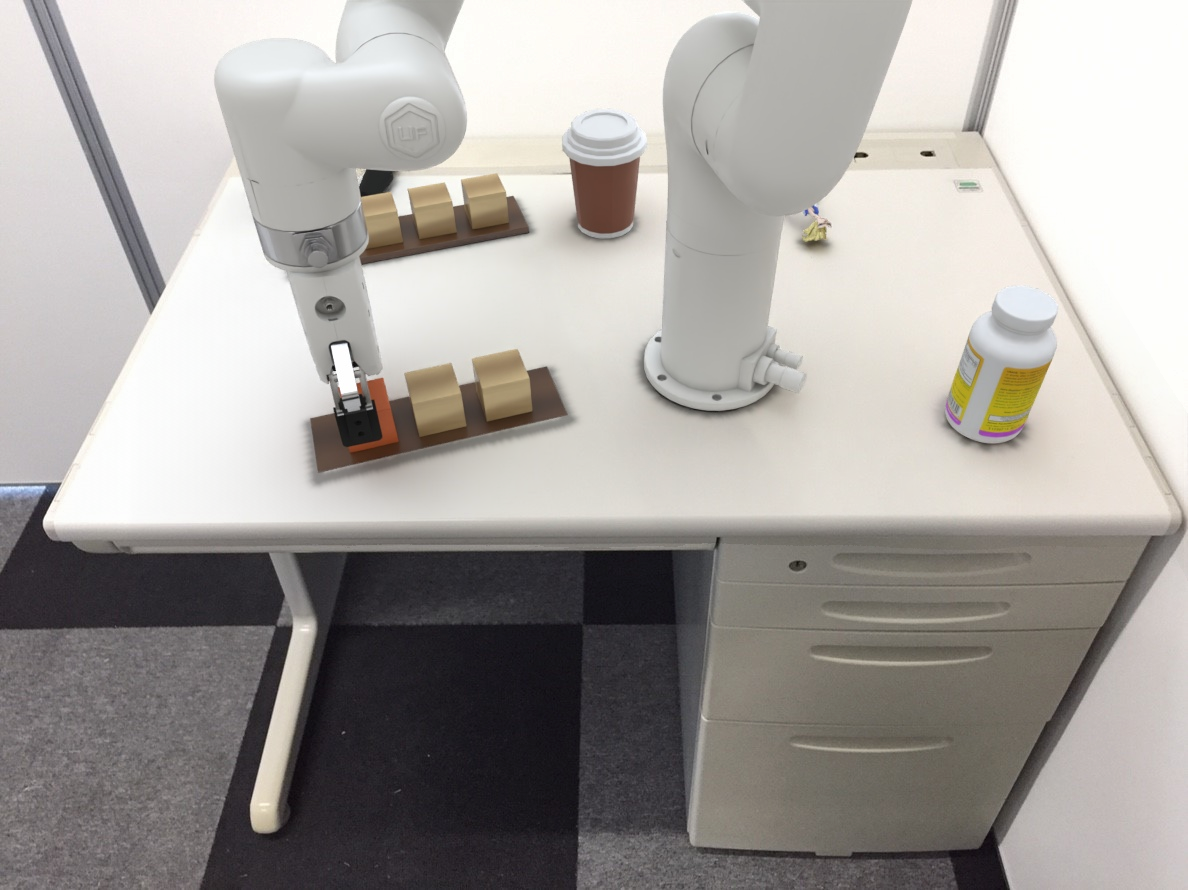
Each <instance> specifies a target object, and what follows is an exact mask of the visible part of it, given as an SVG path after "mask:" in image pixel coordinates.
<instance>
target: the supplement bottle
mask: <svg viewBox="0 0 1188 890" xmlns="http://www.w3.org/2000/svg"><path fill="white" fill-rule="evenodd" d="M1058 312H1059V305H1058V302H1057V301H1056V300H1055V298H1054V297H1053V296H1052V295H1050V294H1049V293H1047V292H1046V291H1044V290H1042V289H1039V288H1037V287H1033V286H1030V285H1029V286H1028V285H1021V284H1018V285H1009V286H1006V287H1003V288H1001V289H1000V290H999V291H998V292H997V293H996V295H995V298H994V300H993V303H992V304H991V310H989V311H987V312H985V313H983V314H982V315H980V316H979V317H978V318H976V320H975V321H974V322H973V323H972V325H971V328H970V330H969V334H968V336H967V339H966V341H965V345H964V348H963V351H962V353H961V357H960V360H959V363H958V366H957V368H956V371H955V374H954V377H953V380H952V382H951V386H950V388H949V389H950V390H949V392H948V396H947V398H946V402H945V405H944V412H945V417H946V419H947V421H948V423H949V424H950V426H951V427H952V428H953V429H954V430H955V431H956V432H957V433H959V434H960V435H962V436H964V437H966V438H968V439H970V440H972V441H975V442H980V443H983V444H1001V443H1005V442H1008V441H1010V440H1013V439H1014V438H1017V436H1018V435H1019V434H1020V433H1021V431H1022V430H1023V428H1024V427H1025V424H1026V422H1027V419H1028V417H1029V416H1030V412H1031V410H1032V408H1033V406H1034V404H1035V402H1036V399H1037V396H1038V394H1039V391H1040V389H1041V387H1042V385H1043V382H1044V380H1045V378H1046V375H1047V373H1048V370H1049V369H1050V366H1051V363H1052V361H1053V359H1054V357H1055V354H1056V352H1057V347H1058V339H1057V336H1056V333H1055V331H1054V330H1053V328H1052V326H1053V324H1054V323H1055V321H1056V318H1057V316H1058Z"/></svg>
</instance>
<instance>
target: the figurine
mask: <svg viewBox="0 0 1188 890" xmlns="http://www.w3.org/2000/svg"><path fill="white" fill-rule="evenodd" d="M801 214H803V215H804V217H807V216H808V215H810V216H811V217H812V218H816V219H815V220H814V221H813V222H812V223H810V225H809V226H808V227H806V229H803V230H802V232H803V234H802V235H801V239H802V241H803V242H805V243H808V242H811V241H814V242H818V241H819V240H824V241H825V240H827V242H828V239H827V238H828V237H827V233H828V231H827V228H832V222H831V221H829V220H828V218H825V217H822V216H820V215H819V214H820V210H819V202H818V203H817V204H815V205H813V206H812V207H810V208H808V209H807V210H804V211H802V212H801ZM804 235H806V236H804ZM810 258H811V259H812V258H813V257H810Z"/></svg>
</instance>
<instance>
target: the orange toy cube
mask: <svg viewBox="0 0 1188 890" xmlns="http://www.w3.org/2000/svg"><path fill="white" fill-rule="evenodd" d="M356 384H357V389H358V393H359V394H362V395H363V393H362V388H361V384H360V382H356ZM367 384H368V388H369V393H370V397H371V400H375V405H376V409H377V413H378V418H379V422H380V427H381V431H382V436H383V437H382V439H381V440H379V441H374V442H369V443H365V444H360V445H355V446H350V447H348V448H349V451H350V453H352V452H357V451H361V450H365V449H370V448H374V447H379V446H383V445H387V444H392V443H396V442H399V440H398V436H397V432H396V428H395V423H394V419H393V415H392V411H391V407H390V402H389V401H390V399H389V395H388V391H387V387H386V383H385V378H384V377H379V378H374V379H368V380H367ZM338 388H339V392H340V387H339V386H338ZM340 396H341V392H340ZM341 398H342V396H341Z"/></svg>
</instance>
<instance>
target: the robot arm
mask: <svg viewBox="0 0 1188 890" xmlns="http://www.w3.org/2000/svg"><path fill="white" fill-rule="evenodd" d="M741 1H742V2H743V3H744V4H745V5H746V6H747V7H748V8H749V9H750V10H751V11H752V12H754V14H756V15H757V16H758V17H757V16H755V15H753V14H749V13H746V12H740V11H723V12H722V11H721V12H718V13H714V14H711V15H708V16H706V17H704V18H702V19H701V20H699V21H697V22H696V23H694V24H693V25H692V26H690V28H688V30H686V31H685V32H684V33H683V35H682V36H681V38H680V39H679V40H678V41H677V43H676V45H675V46H674V48H673V50H672V52H671V54H670V56H669V58H668V61H667V65H666V68H665V72H664V76H663V84H662V116H663V128H664V138H665V148H666V149H665V150H666V161H667V162H666V163H667V199H666V200H667V201H666V202H667V204H666V221H665V245H664V264H663V265H664V266H663V267H664V268H663V285H662V286H663V289H662V312H661V314H662V315H661V316H662V317H661V329H659V330H658V331H656V333H655V334H654V335H653V336H652V337H651V338H650V339H649V340H648V342H647V344H646V346H645V350H644V355H643V356H644V357H643V368H644V369H643V371H644V373H645V376H646V378H647V380H648V381H649V383H650V384H651V386H652V387H653V388H654V389H655V390H656V392H658V393H659V394H660V395H662V396H664V397H665V398H666V399H668V400H669V401H671V402H674V403H675V404H678V405H681V406H684V407H686V408H691V409H695V410H701V411H710V412H711V411H712V412H713V411H716V412H717V411H718V412H720V411H721V412H722V411H729V410H736V409H740V408H742V407H746V406H748V405H751V404H754V403H756V402H757V401H759V400H760V399H761V398H763V397H765V396H766V395H767V394H768V393H769V392H770V391H771V390H772V388H773V387H774V385H776V386H779V388H781V389H784V390H787V391H789V392H790V391H791V392H793V393H795V394H801V392H802V390H803V388H804V386H805V383H806V381H807V375H808V374H807V372H804V371H801V370H799V369H800V367H801V366H802V364H803V363H802V362H803V359H804V355H802V354H798V353H795V352H792V351H787V350H784V349H781V348H780V345H779V344H776V338H777V331H778V328H776V327H773V326H771V325H769V320H770V313H771V306H772V300H773V293H774V288H775V287H774V286H775V280H776V272H777V265H778V259H779V253H780V246H781V238H782V232H783V229H784V223H785V222H784V221H785V217H787V216H792V215H797V214H799V213H802V211H804V210H807V209H808V208H810V207H812V206H813V205H815V204H817V203H818V204H819V202H821V201H822V200H823V199H824V198H826V197H827V196H828V195H829V194H830V193H831V192H832V190H834V188H835V187H836V186H837V185H838V184H839V182H840V181H841V180H842V179H843V177H844V175H845V174H846V172H847V170H848V169H849V167H850V165H851V164H852V162H853V160H854V157H855V156H856V153H857V152H858V150H859V147H860V145H861V142H862V140H863V137H864V135H865V132H866V130H867V128H868V124H869V122H870V119H871V117H872V115H873V112H874V108H875V107H876V103H877V100H878V99H879V98H878V97H879V95H880V92H881V90H882V87H883V84H884V82H885V79H886V76H887V74H888V71H889V68H890V66H891V63H892V60H893V57H894V54H895V52H896V49H897V46H898V43H899V41H900V38H901V35H902V33H903V31H904V27H905V24H906V22H907V20H908V16H909V13H910V10H911V7H912V4H913V0H741ZM464 3H465V0H346V1H345V5H344V7H343V11H342V14H341V17H340V21H339V25H338V28H337V33H336V40H335V61H333V60H332V59H331V57H329V55H328V54H327V53H326V52H325V50H324V49H322V48H321V47H319V46H317V45H315V44H314V43H312V42H310V41H306V40H304V39H303V40H302V39H298V38H290V37H288V38H287V37H275V38H264V39H258V40H253V41H249V42H247V43H243V44H241V45H238V46H236V47H234V48H232V49H230V50H229V51H228V52H226V53H225V54H224V55H223V56H222V57H221V58H220V59H219V60H218V62H217V64H216V67H215V69H214V75H213V76H214V78H213V83H214V89H215V93H216V97H217V101H218V104H219V107H220V111H221V114H222V115H221V116H222V118H223V121H224V125H225V128H226V131H227V136H228V138H229V142H230V145H231V148H232V152H233V155H234V158H235V161H236V165H237V169H238V171H239V174H240V178H241V181H242V185H243V188H244V191H245V195H246V198H247V202H248V206H249V209H250V213H251V216H252V219H253V224H254V226H255V229H256V233H257V236H258V240H259V243H260V247H261V250H262V253H263V256H264V259H265V260H266V261H267V262H268V263H269V264H270V265H272V266H273V267H275V268H277V269H279V270H282V271H285V272H286V276H287V280H288V283H289V286H290V290H291V294H292V297H293V301H294V304H295V307H296V311H297V314H298V318H299V321H300V325H301V328H302V331H303V334H304V336H305V340H306V343H307V345H308V348H309V352H310V355H311V357H312V360H313V363H314V366H315V369H316V372H317V375H318V377H319V381H321V382H322V383H324V384H326V385H330V389H331V393H332V398H333V403H334V407H333V408H332V409H333V413H334V414H335V418H336V422H337V426H338V429H339V433H340V437H341V440H342V444H343V446H345V447H350V446H355V445H360V444H365V443H369V442H374V441H379V440H381V439H382V437H383V436H382V431H381V427H380V422H379V418H378V413H377V409H376V405H375V400H371V397H370V393H369V388H368V384H367V381H368V380H367V377H372V376H375V375H376V376H378V375H380V374H381V373H382V370H383V369H384V366H383V361H382V357H381V356H382V355H381V351H380V346H379V341H378V336H377V331H376V326H375V322H374V316H373V312H372V307H371V302H370V296H369V293H368V287H367V282H366V277H365V274H364V269H363V266H362V265H363V264H361V261H360V258H359V256H360V255H361V254H362V253H363V252H364V250H365V249H366V247H367V245H368V242H369V235H368V230H367V225H366V220H365V215H364V210H363V205H362V199H361V196H360V189H359V186H360V184H359V179H358V174H357V170H366V169H371V170H384V171H392V172H415V171H422V170H427V169H430V168H433V167H436V166H439V165H441V164H443V163H444V162H446V161H447V160H448V159H450V158H451V157H452V156H453V155H454V154H455V153H456V152H457V151H458V149H459V148H460V146H462V143H463V141H464V139H465V135H466V132H467V126H468V111H467V105H466V101H465V98H464V94H463V92H462V89H461V87H460V84H459V82H458V80H457V78H456V75H455V73H454V71H453V68H452V66H451V63H450V61H449V59H448V57H447V54H446V52H445V51H446V48H447V45H448V42H449V39H450V38H451V34H452V32H453V29H454V27H455V24H456V22H457V19H458V17H459V15H460V12H461V10H462V8H463V5H464ZM782 365H784V366H782ZM354 368H358V369H355V370H354ZM334 372H335V374H334ZM356 379H359V383H360V384H361V388H362V393H363V395H362V394H359V393H358V389H357V384H356V383H357V380H356ZM338 387H340V392H341V396H342V398H341V396H340V392H339V388H338Z"/></svg>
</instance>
